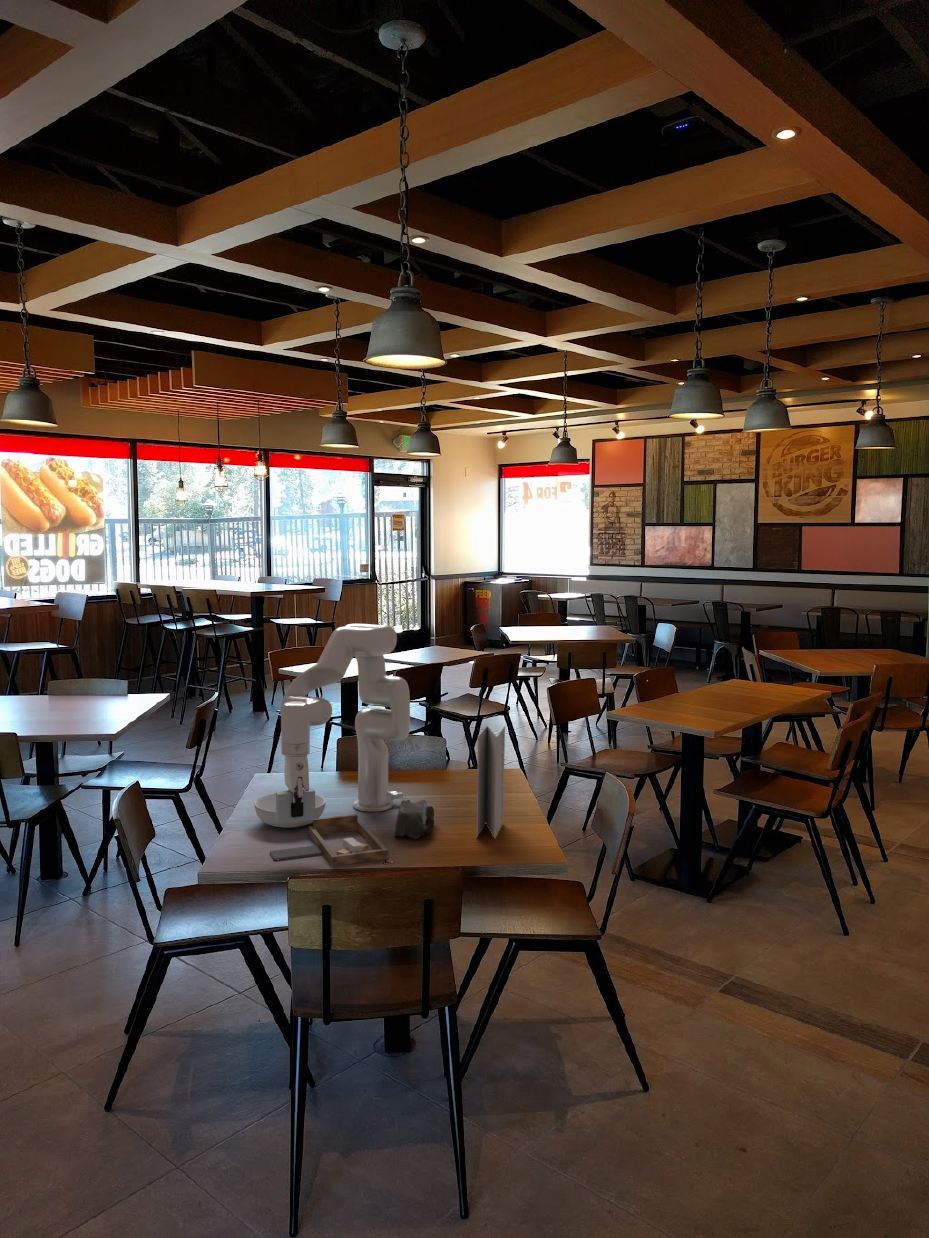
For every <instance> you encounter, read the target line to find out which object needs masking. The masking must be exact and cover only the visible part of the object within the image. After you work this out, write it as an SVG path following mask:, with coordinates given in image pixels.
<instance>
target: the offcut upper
mask: <svg viewBox="0 0 929 1238" xmlns="http://www.w3.org/2000/svg"><path fill="white" fill-rule="evenodd" d="M360 843H361V842H359V841H358V840H357V839H355V838H353V837H346V838H342V846H343V847H344V848H347V849H349V850H350V851H351V852H353V853H356V852H362V848H363V845H362V844H360Z"/></svg>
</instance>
